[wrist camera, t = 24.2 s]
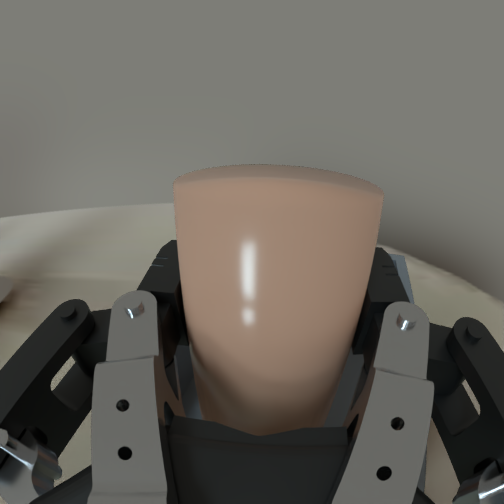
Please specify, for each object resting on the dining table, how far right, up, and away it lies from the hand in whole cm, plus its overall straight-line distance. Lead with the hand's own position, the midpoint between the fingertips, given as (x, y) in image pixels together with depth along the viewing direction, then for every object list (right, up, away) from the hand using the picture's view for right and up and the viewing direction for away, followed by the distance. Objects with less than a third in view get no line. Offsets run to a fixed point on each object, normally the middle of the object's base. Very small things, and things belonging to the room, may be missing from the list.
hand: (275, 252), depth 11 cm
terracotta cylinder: (0, -7, 0) cm, 7 cm away
